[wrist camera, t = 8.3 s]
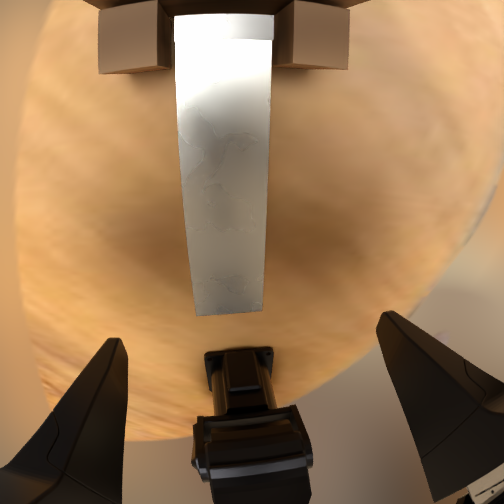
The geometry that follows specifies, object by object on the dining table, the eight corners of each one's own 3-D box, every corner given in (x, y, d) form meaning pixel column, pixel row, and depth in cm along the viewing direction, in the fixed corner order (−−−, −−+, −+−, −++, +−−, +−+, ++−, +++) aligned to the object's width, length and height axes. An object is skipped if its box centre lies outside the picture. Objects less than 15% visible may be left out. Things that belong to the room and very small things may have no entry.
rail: (251, 264, 23) (263, 311, 19) (195, 267, 22) (195, 317, 18) (254, 31, 14) (274, 15, 10) (182, 32, 14) (174, 16, 9)
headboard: (312, 69, 16) (368, 71, 10) (124, 74, 14) (80, 76, 8) (314, -2, 13) (370, -31, 7) (125, 0, 12) (84, -34, 6)
